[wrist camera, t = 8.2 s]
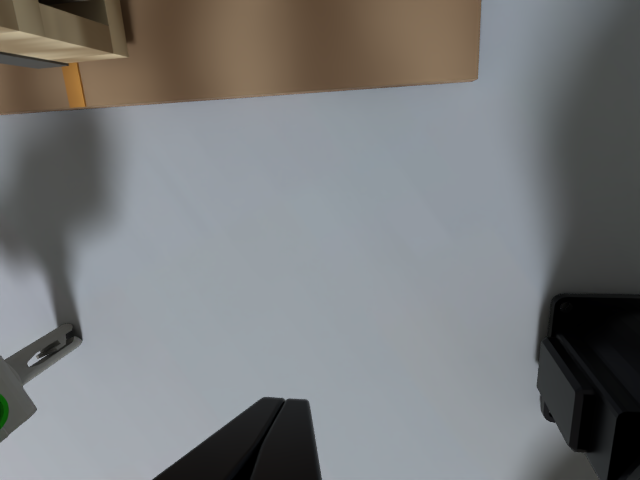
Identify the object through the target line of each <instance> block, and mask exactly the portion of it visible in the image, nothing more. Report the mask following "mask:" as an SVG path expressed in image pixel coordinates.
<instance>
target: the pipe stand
mask: <svg viewBox="0 0 640 480" xmlns="http://www.w3.org/2000/svg"><path fill="white" fill-rule="evenodd" d="M78 1H86V0H38V2H39V3H40V4H44V5H54V4H62V3H70V2H78ZM120 6H121V12H122V18H123V24H124V30H125V37H126V43H127V49H128V55H129V57H127V58H116V59H106V60H95V61H85V62H74V63H69V66H63V67H52V68H42V69H35V68H28V67H21V66H15V65H8V64H1V63H0V115H8V114H22V113H36V112H50V111H64V110H78V109H92V108H106V107H120V106H134V105H148V104H162V103H176V102H191V101H205V100H219V99H233V98H247V97H261V96H275V95H289V94H303V93H317V92H331V91H345V90H359V89H373V88H387V87H402V86H416V85H430V84H444V83H458V82H472V81H474V80H476V79H478V63H479V40H480V17H481V0H120Z"/></svg>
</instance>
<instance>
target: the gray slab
mask: <svg viewBox="0 0 640 480" xmlns="http://www.w3.org/2000/svg"><path fill="white" fill-rule="evenodd" d="M0 63H1V64H8V65H15V66H21V67H28V68H35V69H42V68H52V67H63V66H69V63H63V62H57V61H52V60H46V59H40V58H35V57H29V56H23V55H18V54H12V53H6V52H1V51H0Z"/></svg>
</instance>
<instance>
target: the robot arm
mask: <svg viewBox="0 0 640 480" xmlns="http://www.w3.org/2000/svg"><path fill="white" fill-rule="evenodd" d="M565 302H569V306H568V307H567V308H565V309H560V306H561V304H563V303H565ZM537 388H538V390H539V392H540V394H541V396H542V398H541V412H542V414H543V416H544V417H545V419H546V420H548V421H549V422H554V423H556V424H557V426H558V428H559V430H560V432H561V433H562V435H563V437H564V439H565V441H566V443H567V445H568V446H569V447H570V448H571V449H572V450H573V451H574V452H581V453H585V455H586V457H587V459H588V460H589V462H590V464H591V466H592V467H593V469H594V471H595V473H596V474H597V476H598V478H599V480H640V295H629V294H568V293H564V294H559V295H557V296H555V297H554V298H553V299H552V302H551V308H550V318H549V328H548V337H545V338H544V339H543V340H542V341H541V347H540V357H539V368H538V378H537ZM549 411H550V412H549ZM152 480H322V477H321V471H320V465H319V459H318V453H317V447H316V440H315V434H314V428H313V422H312V416H311V410H310V404H309V401H308V400H306V399H287V400H285V399H283V398H275V397H263V398H261V399H260V400H259V401H257V402H256V403H254V404H253V405H252V406H250V407H249V408H248V409H246V410H245V411H244V412H242V413H241V414H240V415H238V416H237V417H236V418H234V419H233V420H232V421H230V422H229V423H228V424H226V425H225V426H224V427H222V428H221V429H220V430H218V431H217V432H215V433H214V434H213V435H211V436H210V437H209V438H207V439H206V440H205V441H203V442H202V443H201V444H199V445H198V446H197V447H195V448H194V449H193V450H191V451H190V452H189V453H187V454H186V455H185V456H183V457H182V458H181V459H179V460H178V461H176V462H175V463H174V464H172V465H171V466H170V467H168V468H167V469H166V470H164V471H163V472H162V473H160V474H159V475H158V476H156V477H155V478H154V479H152Z"/></svg>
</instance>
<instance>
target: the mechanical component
mask: <svg viewBox="0 0 640 480" xmlns="http://www.w3.org/2000/svg"><path fill="white" fill-rule="evenodd" d="M71 330H72V324H63V325H61V326H59V327H58V328H56V329H55V330H53V331H51V332H50V333H48V334H46V335H45V336H43V337H41V338H40V339H38V340H36V341H35V342H33V343H32V344H30V345H28V346H27V347H25V348H23V349H22V350H20V351H18V352H17V353H15V354H13V355H12V356H10V357H8V358H7V359H5V360H4V359H3V358H2V356H0V442H2V441H3V440H4V439H5V438H7V437H8V435H9V434H10V433H11V432H13V431H14V430H15V429H16V428H18V427H19V426H20V425H21V424H22V423H24V422H25V421H26V420H27V419H29V418H30V417H31V416H32V415H33V414H34V413H35V412H36V410H37V408H36V406H35V405H34V403H33V402H32V400H31V399H30V397H29V396H28V395H27V393H26V392H25V390H24V389H23V385H24V384H26V383H27V382H29V381H30V380H32V379H33V378H34V377H36V376H37V375H39V374H40V373H41V372H43V371H44V370H46V369H47V368H49V367H50V366H51V365H53V364H54V363H56V362H57V361H58V360H60V359H61V358H63V357H64V356H66V355H67V354H68V353H70V352H71V351H73V350H74V349H75V348H77V347H78V346H79V345H81V343H82V340H81V339H80V338H78V337H75V336H74V337H72V338H69V339H67V340H66V334H67V333H68V332H70V331H71ZM39 351H40V352H41V353H40V354H38V355H37V356H36V357H37V359H39V358H41V357H43V356H45V355H47V356H45V357H44V358H42V359H41V360H39V361H38V362H36V363H35V364H33V365H32V366H30V367H28V365H27V362H28V361H29V360H30V359H31V358H32V357H33V356H34V355H35V354H36V353H37V352H39Z"/></svg>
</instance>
